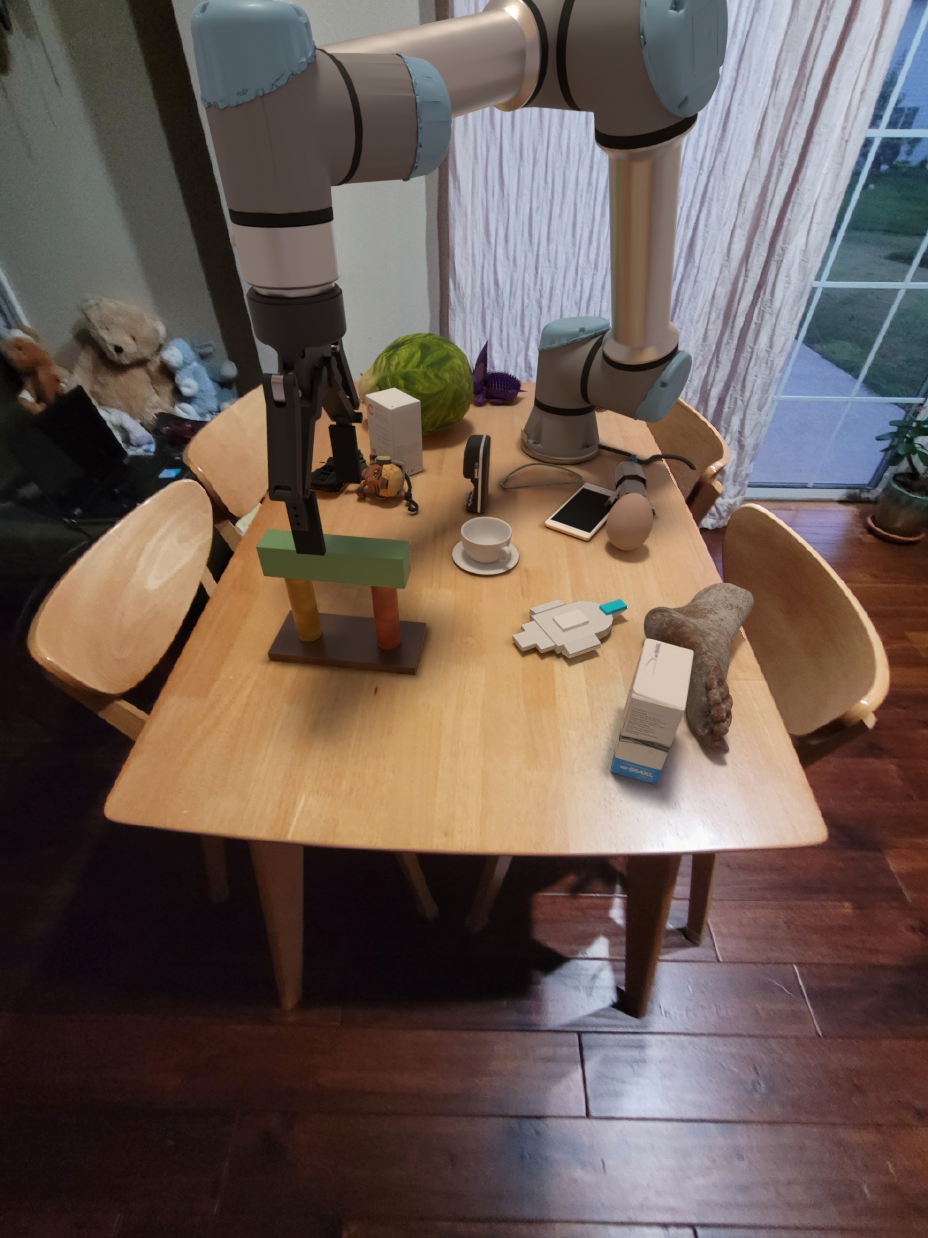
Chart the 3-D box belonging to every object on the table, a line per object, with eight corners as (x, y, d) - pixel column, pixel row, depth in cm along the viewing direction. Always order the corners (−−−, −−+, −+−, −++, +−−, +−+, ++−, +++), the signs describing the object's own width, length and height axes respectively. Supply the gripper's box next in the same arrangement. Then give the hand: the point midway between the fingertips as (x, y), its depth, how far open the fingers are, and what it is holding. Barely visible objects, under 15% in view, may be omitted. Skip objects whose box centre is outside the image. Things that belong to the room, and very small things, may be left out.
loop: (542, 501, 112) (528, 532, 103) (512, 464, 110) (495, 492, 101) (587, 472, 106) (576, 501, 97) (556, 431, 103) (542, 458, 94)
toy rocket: (499, 614, 75) (499, 627, 76) (537, 661, 68) (536, 675, 69) (602, 580, 80) (601, 594, 81) (648, 621, 73) (645, 635, 74)
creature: (448, 393, 135) (447, 337, 127) (524, 391, 137) (529, 336, 128) (451, 408, 128) (451, 350, 120) (531, 406, 130) (537, 349, 122)
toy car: (362, 465, 108) (360, 444, 105) (356, 498, 99) (353, 476, 96) (316, 465, 107) (312, 444, 104) (305, 499, 98) (301, 476, 96)
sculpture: (731, 721, 55) (871, 695, 57) (637, 576, 70) (750, 560, 72) (706, 768, 61) (834, 743, 63) (625, 625, 76) (730, 609, 78)
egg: (652, 544, 90) (666, 492, 84) (635, 565, 86) (650, 511, 80) (612, 530, 93) (623, 478, 87) (594, 550, 88) (605, 497, 82)
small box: (423, 471, 107) (421, 400, 98) (395, 481, 104) (390, 409, 95) (398, 455, 111) (394, 386, 103) (370, 464, 108) (363, 394, 100)
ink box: (656, 787, 58) (688, 712, 50) (606, 771, 60) (630, 696, 52) (666, 724, 64) (696, 648, 56) (621, 710, 66) (645, 634, 58)
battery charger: (466, 492, 101) (467, 429, 94) (488, 494, 101) (491, 430, 93) (461, 513, 96) (461, 448, 88) (483, 515, 96) (486, 450, 88)
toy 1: (335, 447, 94) (399, 496, 89) (376, 428, 99) (439, 473, 94) (338, 485, 100) (397, 532, 95) (376, 465, 105) (435, 509, 100)
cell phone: (626, 498, 100) (627, 495, 100) (588, 541, 90) (588, 538, 90) (585, 485, 103) (586, 482, 103) (543, 525, 93) (543, 522, 93)
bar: (411, 570, 66) (409, 540, 63) (405, 589, 63) (403, 559, 61) (274, 558, 67) (267, 528, 64) (263, 576, 65) (255, 546, 62)
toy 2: (655, 541, 94) (644, 485, 103) (671, 511, 89) (659, 455, 99) (603, 531, 93) (597, 476, 103) (617, 501, 88) (609, 446, 98)
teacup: (438, 553, 87) (438, 527, 84) (488, 530, 92) (489, 505, 89) (482, 586, 82) (483, 559, 79) (532, 559, 87) (535, 533, 84)
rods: (426, 629, 75) (424, 558, 68) (415, 674, 69) (411, 603, 62) (291, 616, 76) (274, 546, 69) (269, 659, 70) (247, 587, 63)
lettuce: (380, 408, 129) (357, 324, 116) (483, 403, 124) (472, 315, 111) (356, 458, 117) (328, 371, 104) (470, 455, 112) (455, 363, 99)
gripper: (299, 250, 56) (331, 456, 70) (171, 329, 37) (250, 586, 52) (376, 253, 55) (392, 460, 69) (284, 334, 37) (332, 593, 51)
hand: (332, 514), depth 60 cm, fingers open, 13 cm apart
